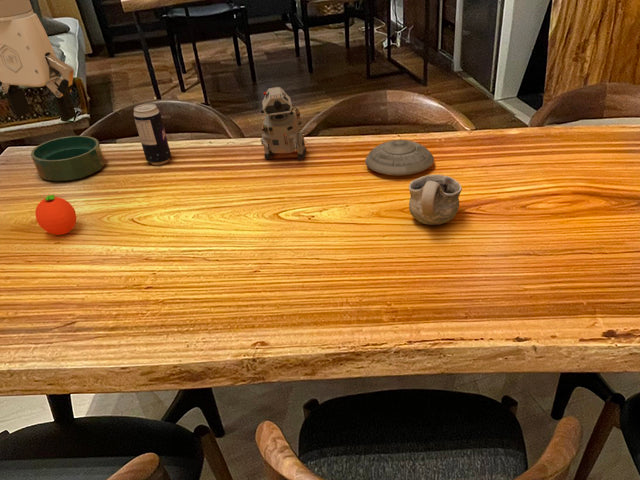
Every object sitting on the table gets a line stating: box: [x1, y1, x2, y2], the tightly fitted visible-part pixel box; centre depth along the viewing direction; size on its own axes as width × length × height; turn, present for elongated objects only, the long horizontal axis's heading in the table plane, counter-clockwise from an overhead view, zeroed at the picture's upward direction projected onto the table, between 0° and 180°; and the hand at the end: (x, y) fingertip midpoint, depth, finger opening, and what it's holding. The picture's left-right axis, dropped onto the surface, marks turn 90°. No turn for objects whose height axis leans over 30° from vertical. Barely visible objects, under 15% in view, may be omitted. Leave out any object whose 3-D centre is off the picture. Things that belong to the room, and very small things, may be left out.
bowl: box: [30, 135, 106, 182], centre depth 139 cm, size 14×14×5 cm
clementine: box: [34, 194, 78, 236], centre depth 117 cm, size 8×7×7 cm
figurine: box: [259, 86, 307, 161], centre depth 136 cm, size 9×12×15 cm
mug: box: [408, 174, 463, 226], centre depth 113 cm, size 10×12×10 cm
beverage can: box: [133, 103, 172, 166], centre depth 139 cm, size 6×6×12 cm
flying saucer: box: [364, 139, 435, 177], centre depth 135 cm, size 15×15×6 cm
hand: (46, 116), depth 109 cm, fingers open, 9 cm apart
